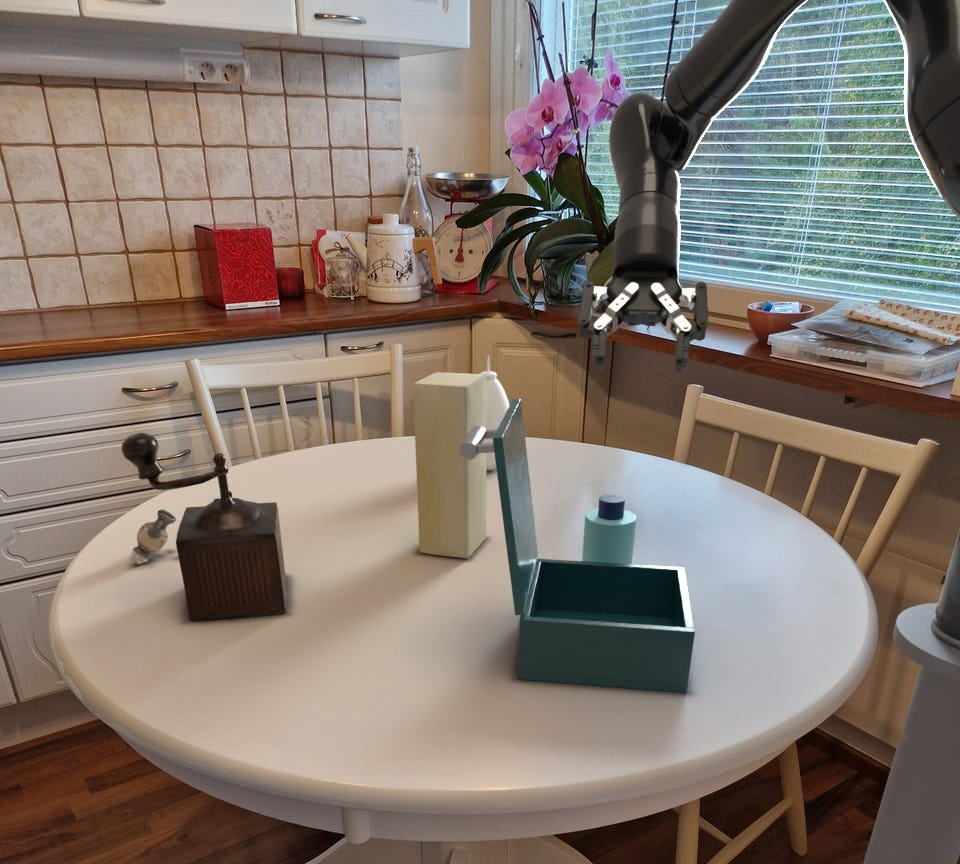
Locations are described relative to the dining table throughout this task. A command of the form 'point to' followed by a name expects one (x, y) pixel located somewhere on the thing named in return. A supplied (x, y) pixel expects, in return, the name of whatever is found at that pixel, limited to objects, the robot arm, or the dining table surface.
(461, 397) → the toy refrigerator
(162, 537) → the vase
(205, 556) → the manual coffee grinder
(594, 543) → the water bottle
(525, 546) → the teal box lid
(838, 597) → the dining table surface
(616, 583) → the teal open box
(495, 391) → the sauce bottle
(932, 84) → the robot arm
